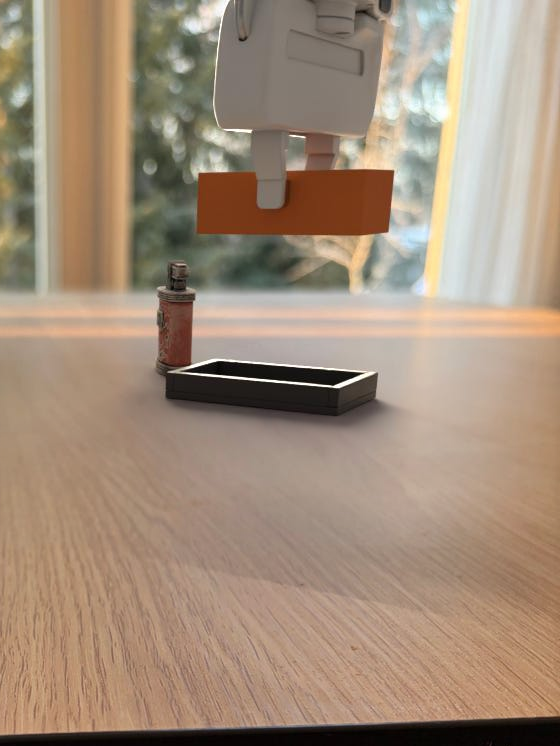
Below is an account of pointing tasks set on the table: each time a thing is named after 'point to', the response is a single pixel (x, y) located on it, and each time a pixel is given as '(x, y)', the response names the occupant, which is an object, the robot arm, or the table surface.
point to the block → (297, 203)
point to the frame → (273, 386)
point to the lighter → (175, 319)
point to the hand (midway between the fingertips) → (293, 207)
